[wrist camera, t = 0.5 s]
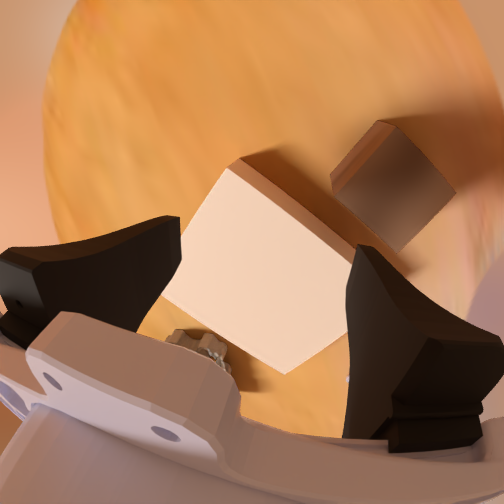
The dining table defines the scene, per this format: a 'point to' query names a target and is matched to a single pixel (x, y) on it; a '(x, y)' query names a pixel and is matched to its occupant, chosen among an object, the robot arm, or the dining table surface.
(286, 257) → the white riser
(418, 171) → the walnut cube
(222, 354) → the egg carton
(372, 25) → the dining table surface
